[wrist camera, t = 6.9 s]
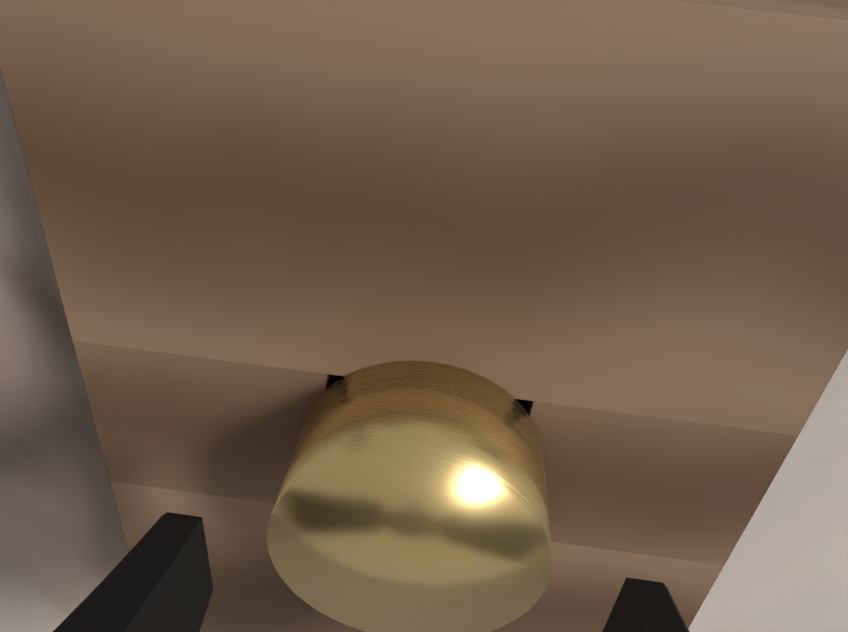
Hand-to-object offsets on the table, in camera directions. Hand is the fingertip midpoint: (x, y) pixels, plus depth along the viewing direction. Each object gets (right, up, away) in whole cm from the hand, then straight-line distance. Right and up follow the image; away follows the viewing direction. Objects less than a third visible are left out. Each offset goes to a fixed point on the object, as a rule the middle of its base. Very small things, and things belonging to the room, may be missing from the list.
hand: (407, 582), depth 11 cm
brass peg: (+1, +4, +5) cm, 7 cm away
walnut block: (+1, +4, +6) cm, 7 cm away
